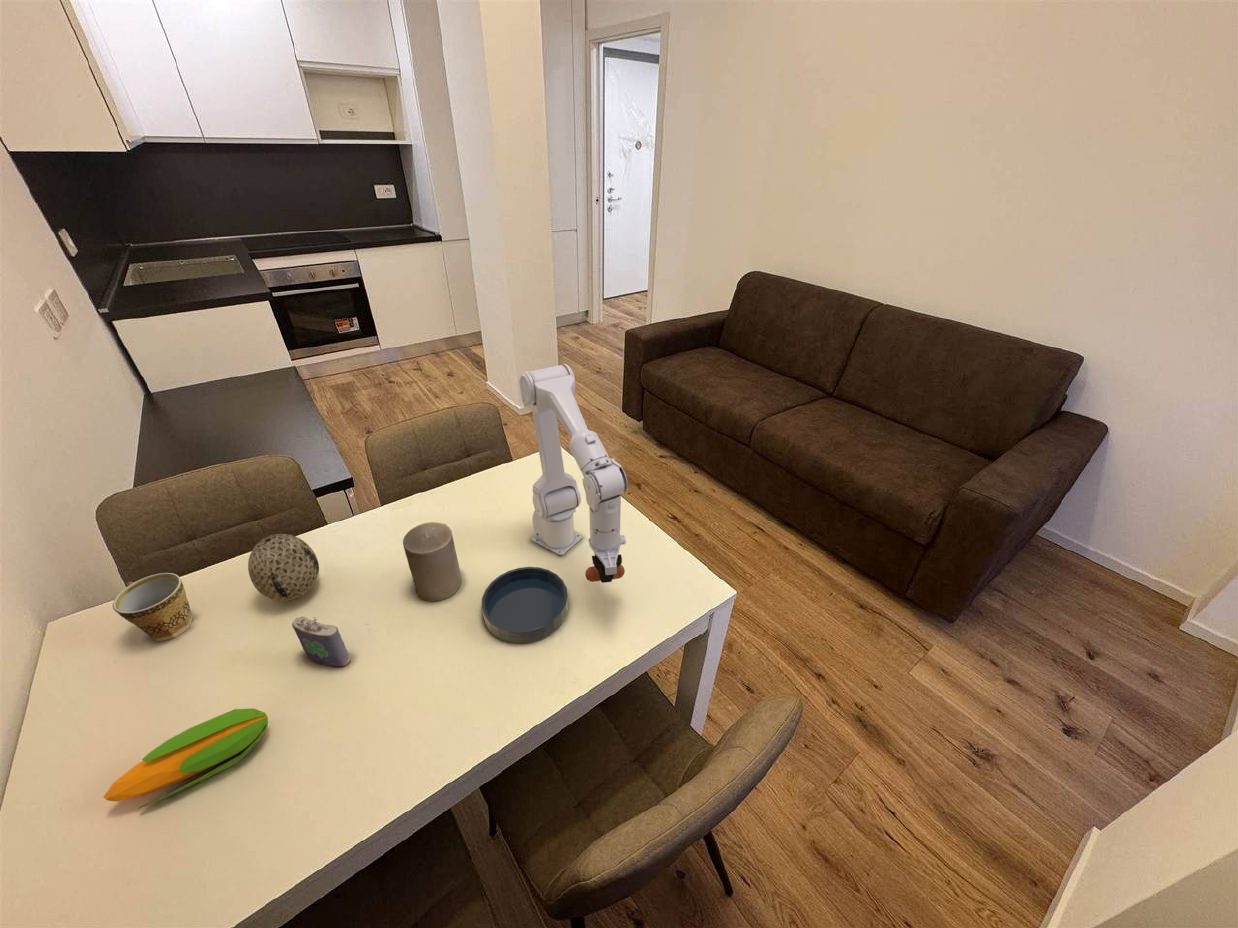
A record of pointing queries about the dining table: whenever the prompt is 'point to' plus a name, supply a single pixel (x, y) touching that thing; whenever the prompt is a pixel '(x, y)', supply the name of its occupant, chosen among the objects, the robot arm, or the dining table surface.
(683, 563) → the dining table surface
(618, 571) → the sausage
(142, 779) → the corn
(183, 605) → the ceramic cup
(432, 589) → the pillar candle
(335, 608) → the dining table surface
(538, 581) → the bowl
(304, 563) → the decorative egg
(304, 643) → the flask
